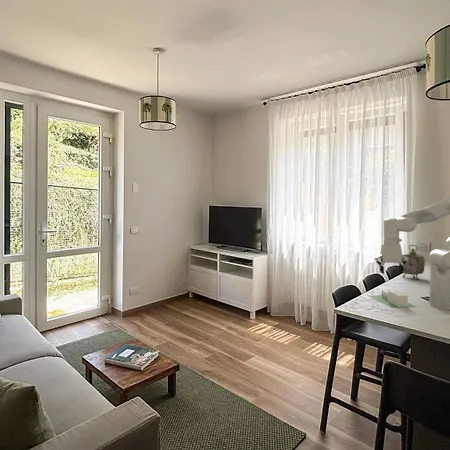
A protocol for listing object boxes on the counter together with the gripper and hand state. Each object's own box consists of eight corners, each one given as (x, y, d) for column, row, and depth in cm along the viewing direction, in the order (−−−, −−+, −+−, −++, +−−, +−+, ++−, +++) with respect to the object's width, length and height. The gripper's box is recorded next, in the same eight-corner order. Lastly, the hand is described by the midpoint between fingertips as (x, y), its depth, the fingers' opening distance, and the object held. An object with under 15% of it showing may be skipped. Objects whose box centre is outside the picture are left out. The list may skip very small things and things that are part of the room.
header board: (390, 296, 208) (390, 289, 208) (416, 308, 184) (416, 300, 184) (368, 297, 206) (368, 289, 206) (391, 310, 183) (392, 301, 182)
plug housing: (396, 301, 194) (396, 290, 194) (407, 306, 184) (407, 295, 184) (387, 301, 194) (388, 291, 193) (398, 306, 184) (399, 295, 184)
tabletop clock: (399, 277, 262) (400, 244, 260) (407, 275, 266) (408, 243, 265) (418, 280, 249) (419, 246, 248) (425, 279, 254) (426, 245, 252)
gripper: (404, 240, 189) (404, 271, 190) (372, 241, 190) (372, 271, 191) (411, 241, 181) (411, 274, 182) (377, 242, 182) (377, 274, 183)
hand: (391, 272), depth 186 cm, fingers open, 9 cm apart
